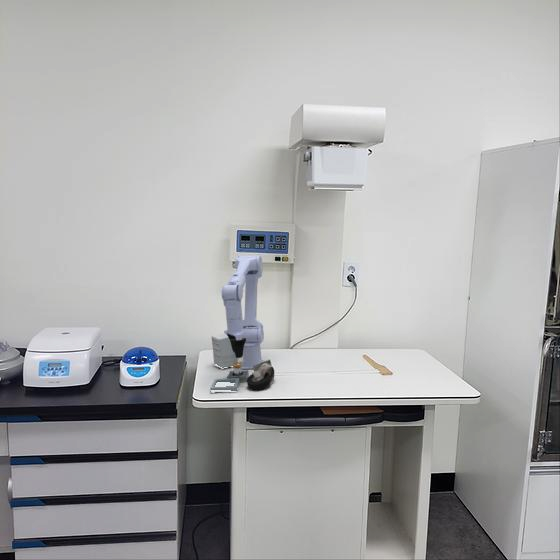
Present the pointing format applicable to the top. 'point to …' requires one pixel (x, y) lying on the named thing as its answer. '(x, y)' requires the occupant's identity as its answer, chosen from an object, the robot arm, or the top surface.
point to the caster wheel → (261, 376)
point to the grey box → (223, 351)
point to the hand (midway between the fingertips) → (237, 354)
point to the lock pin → (237, 368)
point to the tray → (232, 388)
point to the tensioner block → (242, 377)
